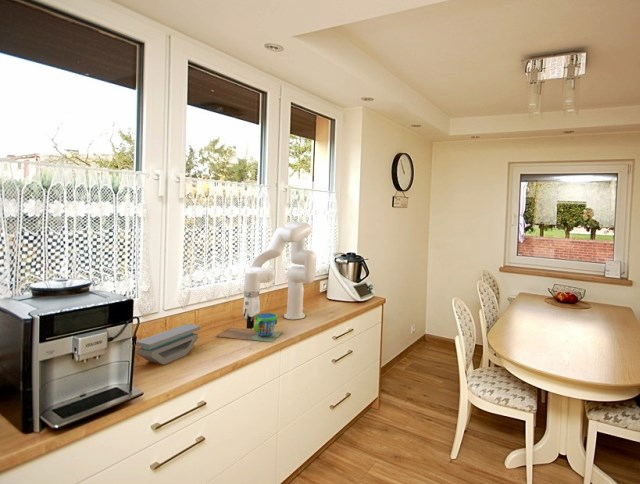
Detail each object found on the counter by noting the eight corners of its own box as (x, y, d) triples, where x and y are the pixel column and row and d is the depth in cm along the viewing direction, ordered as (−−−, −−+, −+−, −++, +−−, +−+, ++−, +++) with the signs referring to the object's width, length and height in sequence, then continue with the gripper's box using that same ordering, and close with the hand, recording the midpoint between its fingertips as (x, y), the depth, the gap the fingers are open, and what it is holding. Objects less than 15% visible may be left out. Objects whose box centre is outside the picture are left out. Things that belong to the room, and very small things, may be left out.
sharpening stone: (148, 371, 144) (149, 344, 144) (133, 367, 147) (134, 341, 146) (199, 349, 168) (200, 326, 168) (185, 346, 171) (187, 323, 170)
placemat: (230, 328, 198) (230, 328, 198) (281, 333, 195) (281, 332, 195) (216, 337, 185) (216, 336, 185) (270, 342, 182) (271, 341, 182)
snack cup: (269, 328, 200) (270, 310, 200) (283, 332, 196) (284, 313, 195) (246, 336, 186) (247, 317, 186) (261, 341, 182) (262, 321, 181)
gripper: (251, 297, 182) (250, 333, 182) (264, 291, 197) (263, 324, 197) (237, 296, 182) (235, 332, 183) (251, 290, 197) (250, 323, 198)
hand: (250, 328), depth 190 cm, fingers closed
